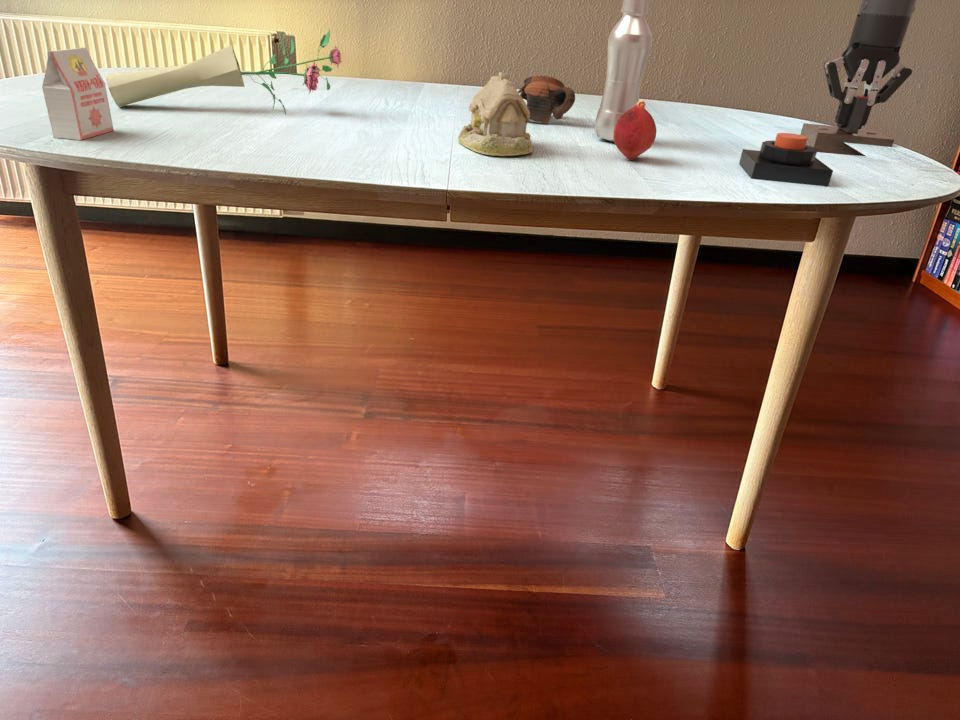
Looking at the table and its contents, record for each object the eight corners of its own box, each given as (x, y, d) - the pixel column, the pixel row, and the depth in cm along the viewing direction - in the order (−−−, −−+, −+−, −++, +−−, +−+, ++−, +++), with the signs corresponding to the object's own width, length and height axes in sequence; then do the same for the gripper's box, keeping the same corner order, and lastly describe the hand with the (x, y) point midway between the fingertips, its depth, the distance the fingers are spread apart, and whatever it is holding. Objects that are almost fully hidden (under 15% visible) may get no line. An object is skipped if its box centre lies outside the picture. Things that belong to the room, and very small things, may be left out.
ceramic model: (450, 135, 104) (453, 64, 99) (520, 137, 106) (526, 67, 102) (472, 157, 92) (477, 77, 87) (550, 158, 95) (560, 81, 90)
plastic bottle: (599, 134, 113) (619, -2, 103) (639, 141, 110) (664, 1, 100) (587, 140, 107) (607, -3, 98) (629, 147, 105) (653, 1, 95)
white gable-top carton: (53, 137, 86) (33, 50, 81) (87, 127, 92) (71, 46, 87) (80, 140, 85) (62, 53, 80) (113, 130, 91) (98, 48, 86)
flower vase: (143, 151, 112) (351, 107, 118) (121, 144, 101) (353, 95, 106) (117, 76, 109) (332, 34, 115) (92, 60, 98) (332, 14, 103)
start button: (800, 147, 95) (803, 134, 94) (807, 153, 92) (811, 139, 91) (770, 144, 95) (774, 131, 95) (777, 150, 92) (780, 137, 91)
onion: (628, 166, 94) (639, 104, 90) (601, 156, 98) (610, 97, 94) (659, 163, 97) (670, 103, 93) (631, 154, 101) (641, 96, 97)
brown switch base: (868, 147, 120) (874, 128, 118) (888, 158, 112) (895, 138, 110) (798, 140, 121) (803, 122, 119) (812, 151, 113) (818, 131, 111)
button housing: (809, 171, 99) (818, 143, 97) (828, 187, 91) (837, 156, 89) (738, 164, 100) (745, 136, 98) (751, 179, 92) (759, 148, 90)
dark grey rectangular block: (837, 127, 117) (848, 92, 114) (847, 128, 117) (858, 93, 114) (847, 133, 113) (859, 96, 110) (857, 133, 113) (869, 97, 110)
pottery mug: (501, 121, 120) (509, 75, 120) (531, 141, 128) (539, 98, 128) (558, 113, 113) (566, 64, 113) (587, 135, 120) (595, 89, 120)
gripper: (921, 15, 109) (882, 127, 117) (831, 8, 110) (800, 120, 118) (942, 16, 102) (899, 135, 111) (846, 9, 104) (812, 127, 112)
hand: (848, 127), depth 115 cm, fingers closed
